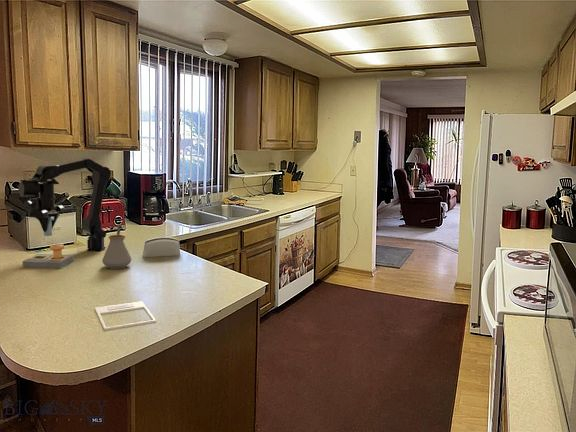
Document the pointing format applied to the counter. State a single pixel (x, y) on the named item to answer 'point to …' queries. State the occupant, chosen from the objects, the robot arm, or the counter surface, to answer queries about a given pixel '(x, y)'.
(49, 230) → the blue peg
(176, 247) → the grey arched block
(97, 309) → the photo frame
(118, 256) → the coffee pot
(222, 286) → the counter surface
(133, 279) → the counter surface
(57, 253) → the jaw orange
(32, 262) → the block
